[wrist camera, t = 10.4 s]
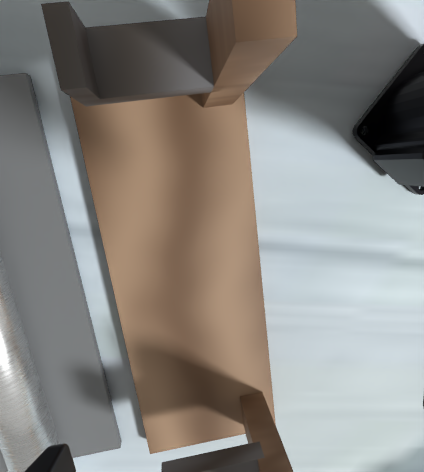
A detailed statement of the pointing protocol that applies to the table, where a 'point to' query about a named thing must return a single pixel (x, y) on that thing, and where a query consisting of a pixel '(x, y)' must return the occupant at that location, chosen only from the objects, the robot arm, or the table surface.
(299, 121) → the table surface
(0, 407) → the steel rail
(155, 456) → the table surface
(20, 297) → the rubber mat
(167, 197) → the hook stand
